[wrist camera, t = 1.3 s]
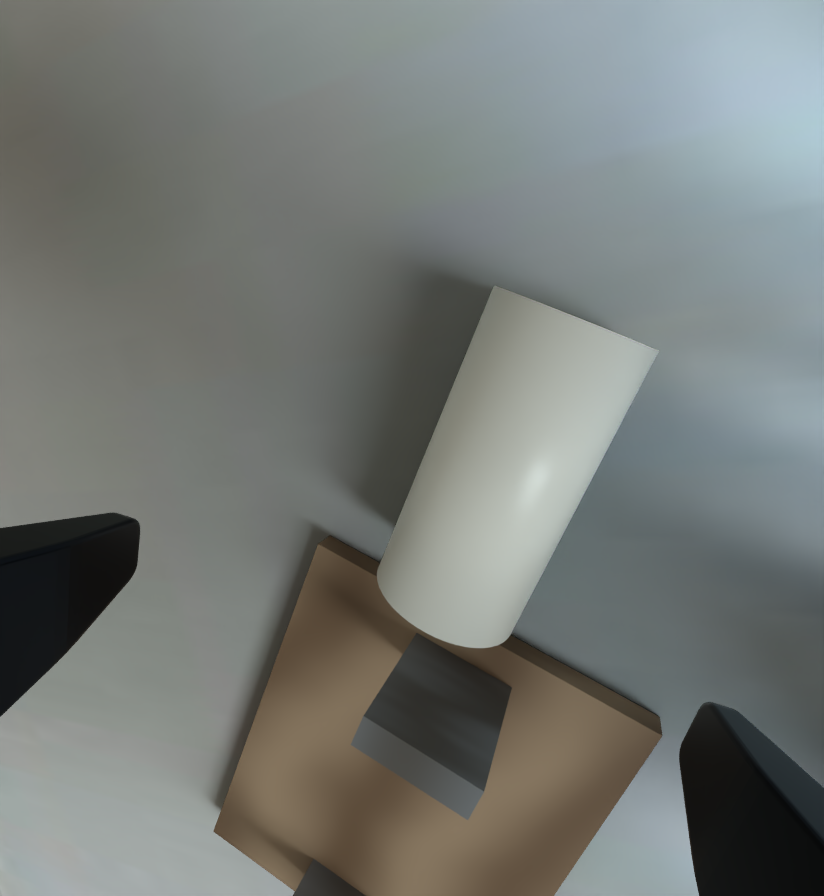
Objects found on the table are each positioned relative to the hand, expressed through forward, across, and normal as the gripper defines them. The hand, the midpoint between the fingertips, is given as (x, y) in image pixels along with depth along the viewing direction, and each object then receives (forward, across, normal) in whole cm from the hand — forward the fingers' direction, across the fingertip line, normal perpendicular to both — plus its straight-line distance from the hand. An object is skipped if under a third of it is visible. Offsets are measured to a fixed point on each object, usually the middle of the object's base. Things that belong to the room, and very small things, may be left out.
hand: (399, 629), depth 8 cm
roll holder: (+11, -1, +15) cm, 19 cm away
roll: (+12, -2, 0) cm, 12 cm away
